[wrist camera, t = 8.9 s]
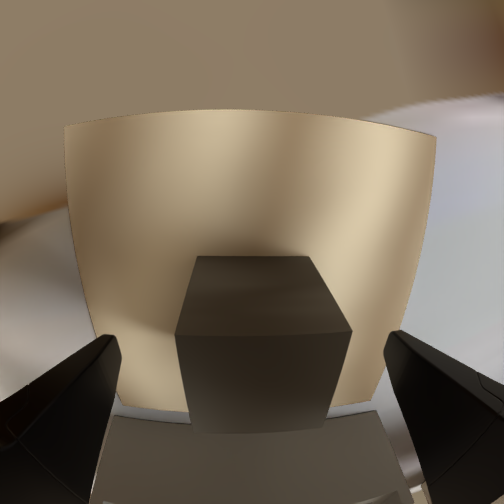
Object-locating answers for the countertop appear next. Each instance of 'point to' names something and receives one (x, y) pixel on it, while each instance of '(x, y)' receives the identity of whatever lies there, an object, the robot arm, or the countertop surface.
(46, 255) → the countertop surface
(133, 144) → the cover plate
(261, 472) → the box
